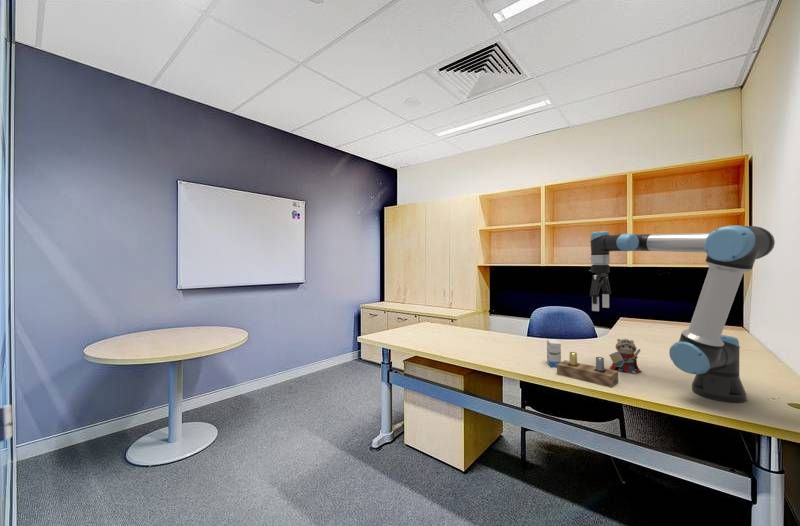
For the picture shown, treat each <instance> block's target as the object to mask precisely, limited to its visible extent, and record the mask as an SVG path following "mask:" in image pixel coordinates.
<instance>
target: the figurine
mask: <svg viewBox="0 0 800 526" xmlns="http://www.w3.org/2000/svg"><path fill="white" fill-rule="evenodd" d="M634 342H635V341H634V339H633V340H632V339H631V340H630V339H627V338H623V339H621V338H617V343H616V344H615V350H616V351H615V352H612V353H611V354H608V355H609V357H610V359H611V361H612V364H611V365H610V366H609V369H610V370H616V369H617V371H618V372H619V371H620V372H624V373H631V374H637V371H638V373H642V370H640V368H639V365H638V363H637V362H638V361H637V359H638V358H639V356H638V355H639V354H640V352H641V348H637V346H636V344H635V343H634Z"/></svg>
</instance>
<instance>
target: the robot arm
mask: <svg viewBox="0 0 800 526" xmlns="http://www.w3.org/2000/svg"><path fill="white" fill-rule="evenodd" d="M589 242H590V257H589V259H590V264H591V265H590V272H591V273H592V274H593V275H592V276H591V284H590V285H591V286H590V290H589V297H591V311H592V312H600V296H599V294H600V291H601V292H602V296H601V297H602V299H601V301H602V302H601V303H602V304H601V305H602V309H603V308H606V309H609V308H610V295H611V294H612V291H611V290H612V289H611V285H610V280H609V273H610V272H611V270H610V265H609V264H610V252H668V253H669V252H670V253H672V252H673V253H675V252H677V253H705V254H706V255H707V256H706V258H705V263H706V264H707V266H708V270H707V274H706V277H705V279H704V283H703V285H702V287H701V288H702V289H701V291H700V294H699V297H698V300H697V303H696V306H695V310H694V311H693V315H692V317H691V321H690V324H689V327H688V328H687V329H684V330H682V331H681V334H680V337H679V340H678V341H676V342H673V344H672V345H671V346H670V348H669V351H668V353H669V358H670V360H671V361H672V363H673V364H674V366H675V367H676V368H678V369H679V370H680V371H683V373H685V374H690V375H695V376H694V378H693V381H692V383H691V391H692V392H694V393H695V394H697V395H699V396H702V397H705V398H708V399H712V400H716V401H721V402H725V403H726V402H727V403H744V402H746V401H747V398H748V397H747V392H746V390H745V387H744V385H743V383H742V381H741V376H740V348H741V346H740V341H739V339H738V338H737V337H734V336H731V335H726V334H722V333H723V331H724V327H725V325H726V322H727V319H728V317H729V314H730V311H731V310H732V309H731V308H732V305H733V303H734V301H735V297H736V295H737V292H738V289H739V286H740V283H741V281H742V278H743V276H744V274H745V273H748V272H750V271H752V270H753V267H754V266H755V265H754V264H755V261H756V260H759V259H762V258H764V257H767V256H768V255H769V254H770V253H771V252H772V251H773V249H774V248H775V243H776V242H775V237H774V235H773V234H772V233H771V232H770V231H769V230H767V229H765V228H763V227H760V226H755V225H736V224H735V225H734V224H731V225H725V226H721V227H718V228H717V229H714V230H713V231H711V232H704V233H703V232H701V233H699V232H697V233H695V232H694V233H654V234H653V233H652V234H649V233H647V234H645V233H643V234H642V233H641V234H634V233H622V234H621V233H620V234H619V233H618V234H610V232H609V231H608V230H607V231H606V230H605V231H594V232H591V235H590V240H589Z"/></svg>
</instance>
